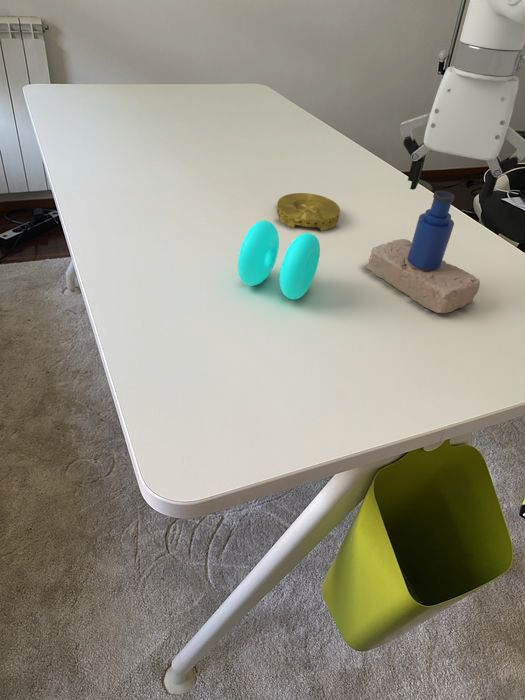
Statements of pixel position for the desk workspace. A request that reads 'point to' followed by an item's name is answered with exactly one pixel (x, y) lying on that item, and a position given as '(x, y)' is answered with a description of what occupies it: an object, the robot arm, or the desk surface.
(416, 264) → the bottle
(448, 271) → the brick
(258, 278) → the pair of turquoise discs
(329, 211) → the compass
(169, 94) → the desk surface
